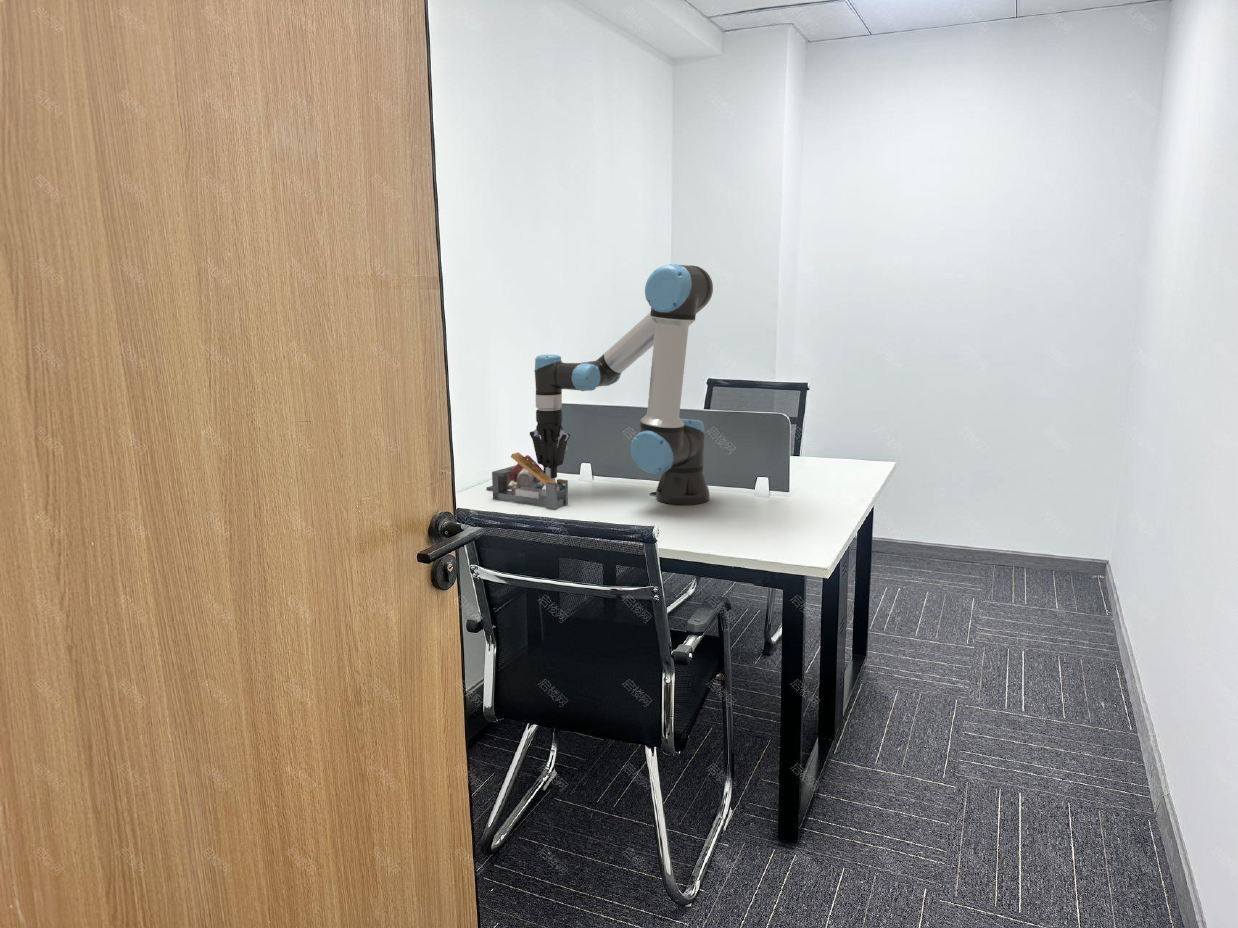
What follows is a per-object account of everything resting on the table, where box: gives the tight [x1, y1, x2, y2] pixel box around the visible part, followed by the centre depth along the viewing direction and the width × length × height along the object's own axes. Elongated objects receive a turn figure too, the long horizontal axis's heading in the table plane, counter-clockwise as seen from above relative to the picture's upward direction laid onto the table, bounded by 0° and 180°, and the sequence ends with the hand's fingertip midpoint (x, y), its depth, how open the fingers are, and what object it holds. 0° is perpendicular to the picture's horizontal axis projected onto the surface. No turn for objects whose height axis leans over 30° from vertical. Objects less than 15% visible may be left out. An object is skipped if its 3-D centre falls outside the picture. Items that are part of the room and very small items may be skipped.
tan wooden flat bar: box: [510, 452, 562, 491], centre depth 233 cm, size 17×3×1 cm
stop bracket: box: [485, 464, 522, 492], centre depth 255 cm, size 5×12×6 cm, turn 149°
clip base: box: [491, 468, 569, 510], centre depth 236 cm, size 22×6×8 cm, turn 59°
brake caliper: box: [508, 454, 546, 491], centre depth 247 cm, size 11×11×12 cm
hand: (550, 488), depth 247 cm, fingers closed
